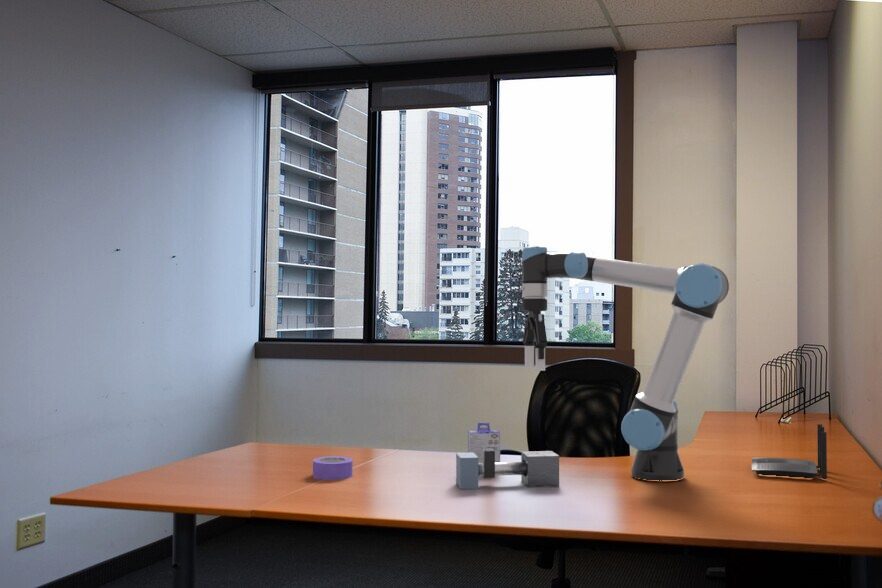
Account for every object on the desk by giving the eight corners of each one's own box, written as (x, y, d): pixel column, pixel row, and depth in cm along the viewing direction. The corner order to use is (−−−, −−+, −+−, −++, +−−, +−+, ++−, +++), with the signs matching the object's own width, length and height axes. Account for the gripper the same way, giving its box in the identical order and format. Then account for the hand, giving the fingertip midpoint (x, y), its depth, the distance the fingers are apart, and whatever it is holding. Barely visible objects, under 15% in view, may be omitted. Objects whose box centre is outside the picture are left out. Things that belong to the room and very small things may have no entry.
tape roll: (360, 476, 246) (360, 459, 246) (330, 482, 237) (330, 464, 237) (335, 470, 254) (335, 454, 254) (304, 476, 245) (304, 459, 245)
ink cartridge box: (499, 469, 255) (499, 422, 255) (500, 472, 249) (500, 425, 250) (467, 469, 255) (467, 422, 255) (468, 472, 249) (468, 425, 250)
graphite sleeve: (551, 480, 239) (551, 450, 239) (559, 486, 231) (559, 455, 231) (521, 481, 237) (521, 451, 238) (527, 487, 229) (527, 456, 230)
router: (752, 465, 262) (751, 419, 262) (822, 470, 255) (821, 422, 255) (751, 478, 243) (751, 428, 243) (827, 483, 235) (826, 431, 236)
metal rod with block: (524, 473, 236) (524, 447, 236) (528, 477, 231) (528, 450, 231) (463, 475, 234) (463, 448, 234) (466, 478, 229) (466, 451, 229)
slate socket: (473, 482, 236) (473, 452, 236) (478, 488, 228) (478, 457, 228) (456, 483, 235) (456, 452, 235) (460, 489, 227) (460, 457, 227)
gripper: (513, 298, 259) (513, 365, 258) (532, 297, 234) (532, 372, 234) (536, 298, 260) (536, 365, 259) (557, 297, 235) (558, 371, 235)
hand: (534, 368), depth 247 cm, fingers open, 13 cm apart
